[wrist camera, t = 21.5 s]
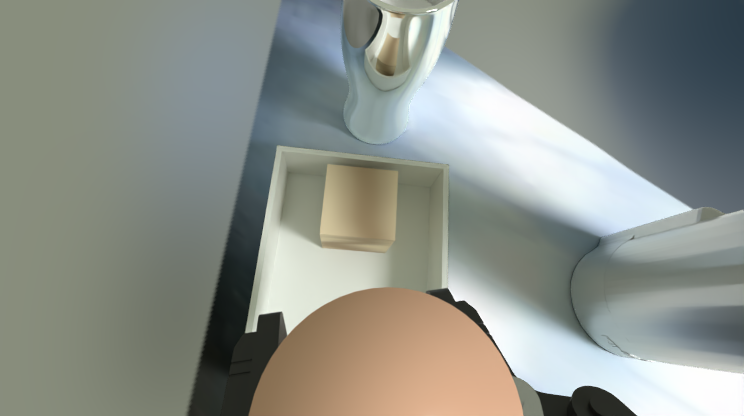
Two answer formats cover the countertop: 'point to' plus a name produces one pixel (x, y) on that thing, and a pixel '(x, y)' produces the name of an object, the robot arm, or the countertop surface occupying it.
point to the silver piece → (389, 60)
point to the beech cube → (359, 209)
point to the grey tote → (345, 267)
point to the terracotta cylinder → (386, 362)
